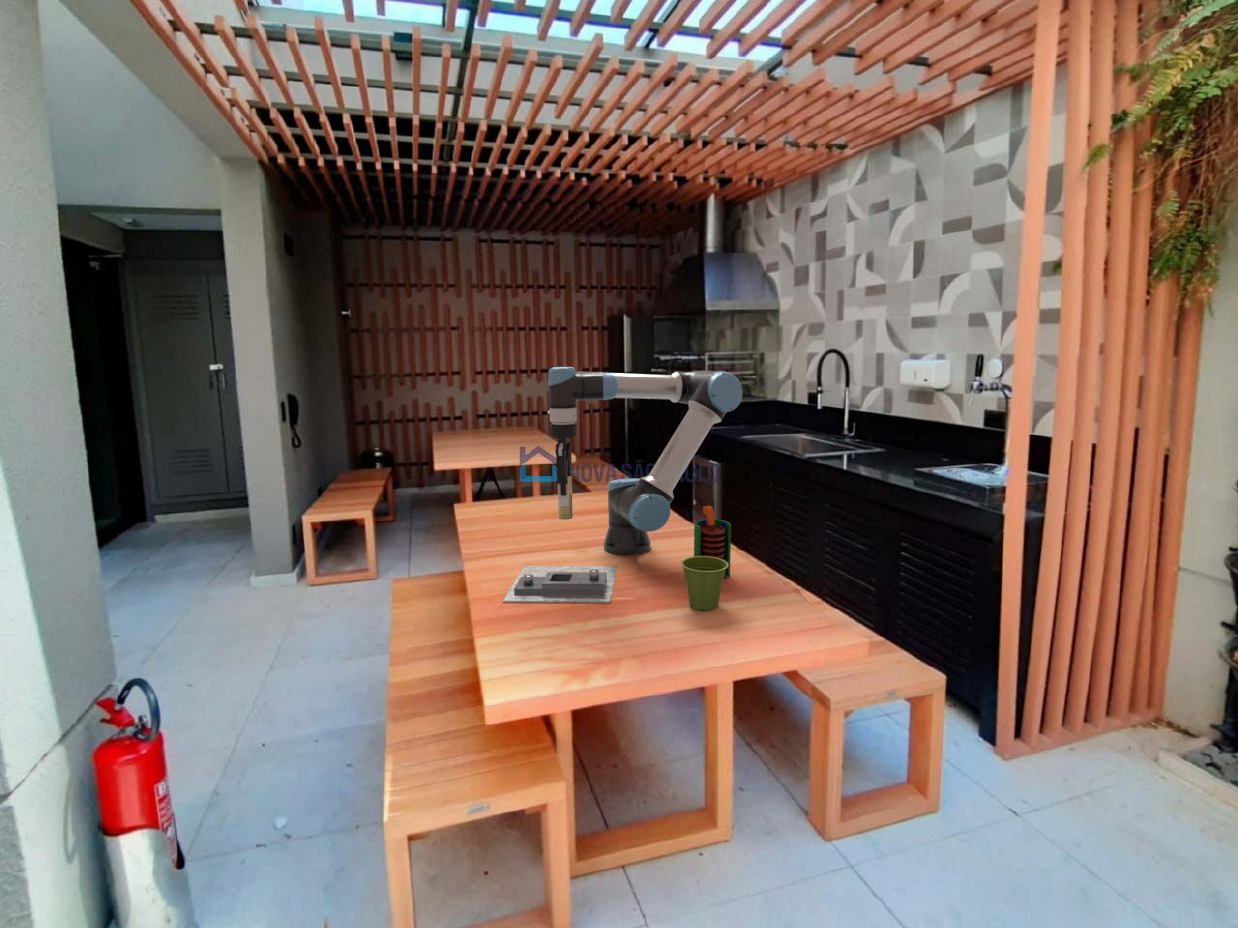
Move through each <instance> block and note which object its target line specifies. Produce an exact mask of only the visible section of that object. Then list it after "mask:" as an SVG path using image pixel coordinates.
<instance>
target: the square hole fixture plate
mask: <svg viewBox="0 0 1238 928" xmlns="http://www.w3.org/2000/svg"><path fill="white" fill-rule="evenodd" d="M617 569H618V566H617V565H614V566H613V565H611V566H610V565H609V566H608V565H524V566H523V567H522V569H521V571H520V573H519V574H518V576H517V577H516V578H515V580H514V582H513V583H512V585H511V587H510V588H509V590H508V592H507V593H506V595H505V596H504V598H503V600H502V603H518V604H519V603H522V604H523V603H525V604H526V603H531V604H532V603H535V604H537V603H538V604H543V603H544V604H545V603H546V604H547V603H548V604H553V603H554V604H562V603H561V602H576V603H575V604H611V602H612V594H613V589H614V586H615V585H614V584H615V580H616V576H617ZM550 602H551V603H550ZM557 602H558V603H557ZM577 602H578V603H577Z"/></svg>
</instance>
